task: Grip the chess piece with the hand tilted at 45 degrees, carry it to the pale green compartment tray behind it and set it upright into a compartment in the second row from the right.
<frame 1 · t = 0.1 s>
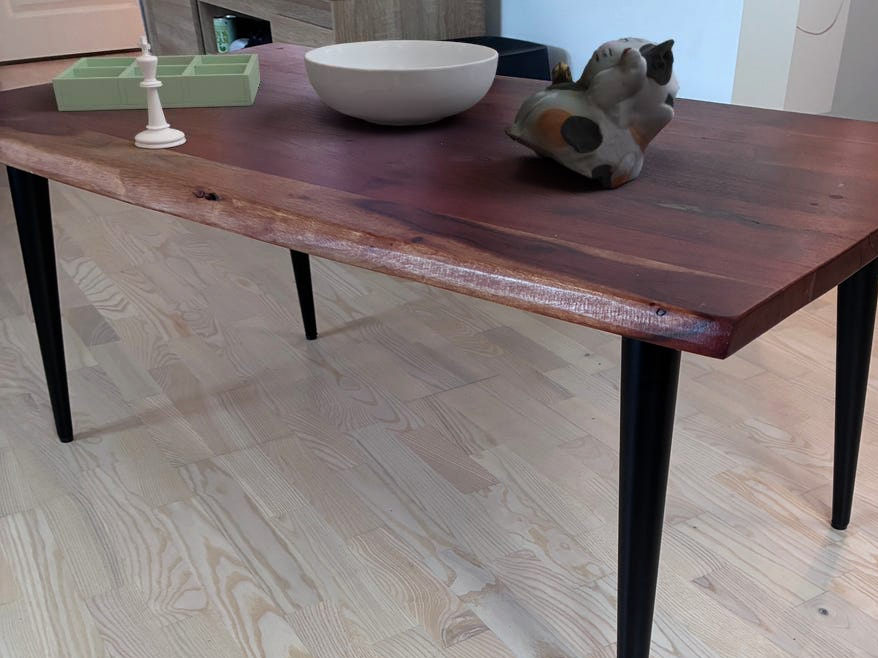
chess piece: (161, 144, 93), on the table
lucky cat figurine: (586, 172, 84), on the table
serving bowl: (404, 119, 103), on the table
compartment tray: (166, 95, 113), on the table
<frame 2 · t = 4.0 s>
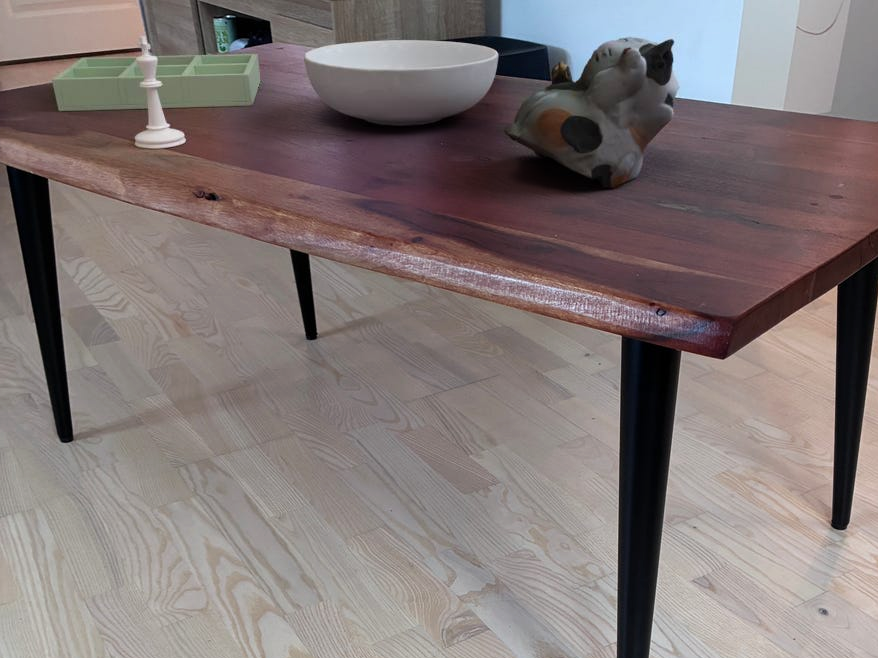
nothing on the table moved.
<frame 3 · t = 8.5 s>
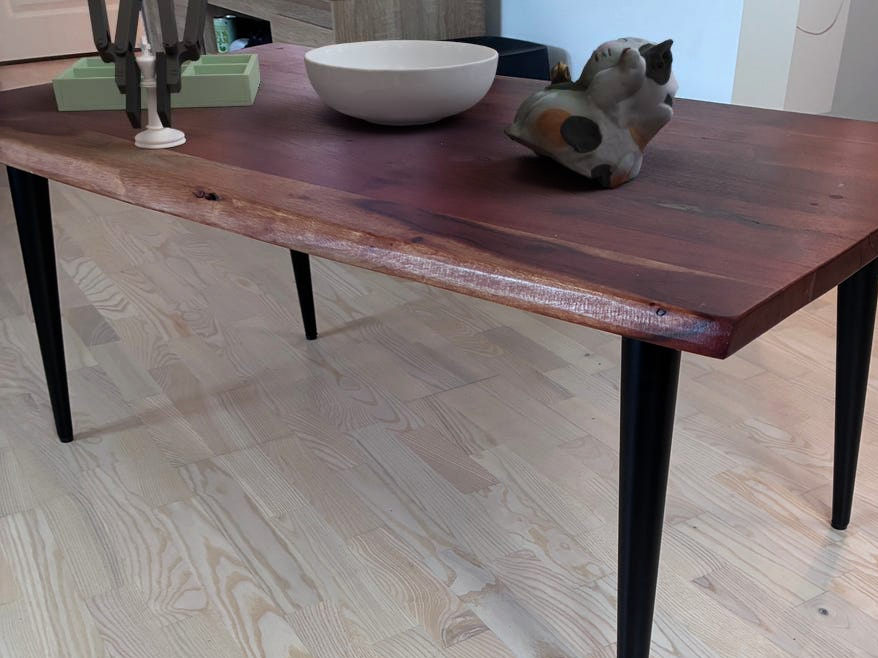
hand: (148, 119, 88), 3 cm above the table, tool tilted 45°, fingers closed on chess piece, 2 cm apart
chess piece: (161, 144, 93), on the table, touching gripper
everything else where it was.
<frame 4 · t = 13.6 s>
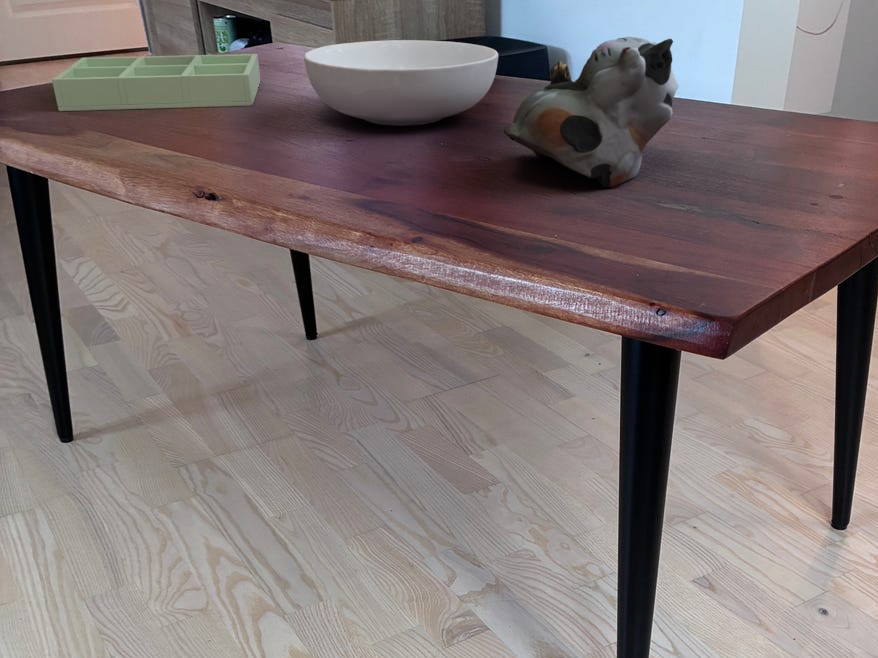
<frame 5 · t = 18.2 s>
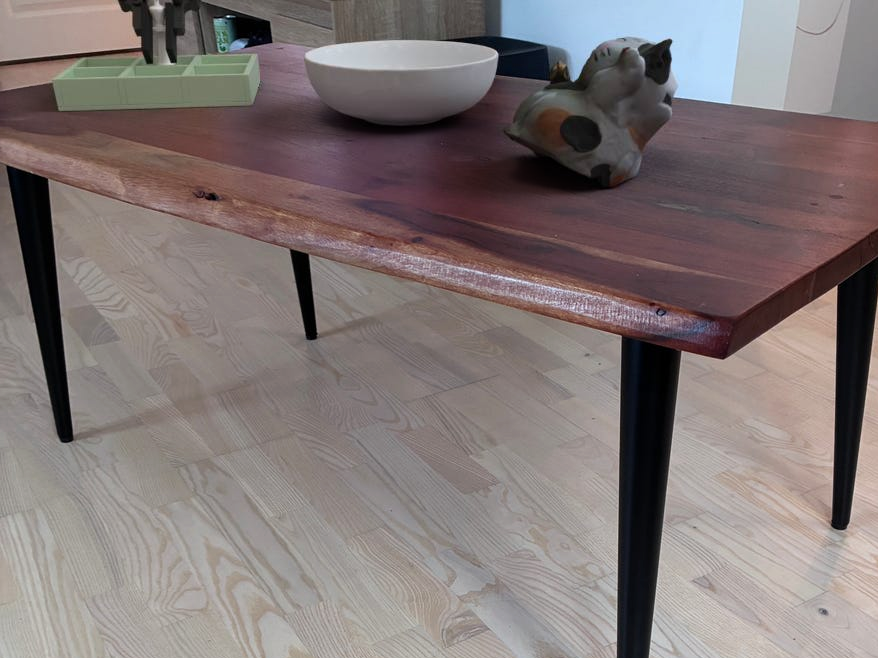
hand: (159, 56, 111), 5 cm above the table, tool tilted 45°, fingers closed on chess piece, 2 cm apart
chess piece: (168, 79, 116), point 1 cm above the table, touching gripper
everything else where it was.
when the fingers open (5 cm above the table, at t = 19.0 s): chess piece drops 1 cm, resting on compartment tray.
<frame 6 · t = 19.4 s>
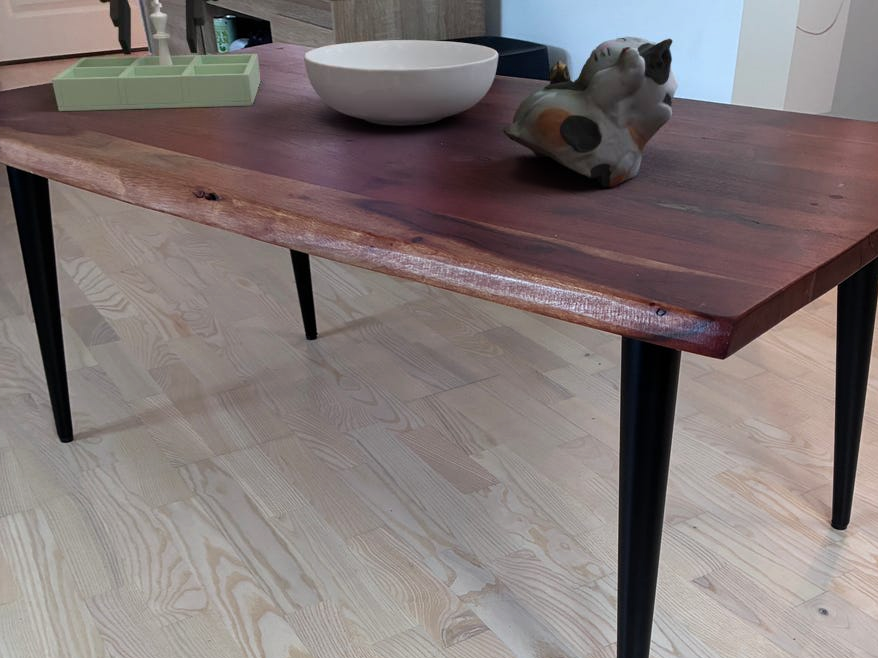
hand: (158, 46, 110), 6 cm above the table, tool tilted 45°, fingers open, 7 cm apart
chess piece: (169, 85, 116), point 1 cm above the table, touching compartment tray
everything else where it was.
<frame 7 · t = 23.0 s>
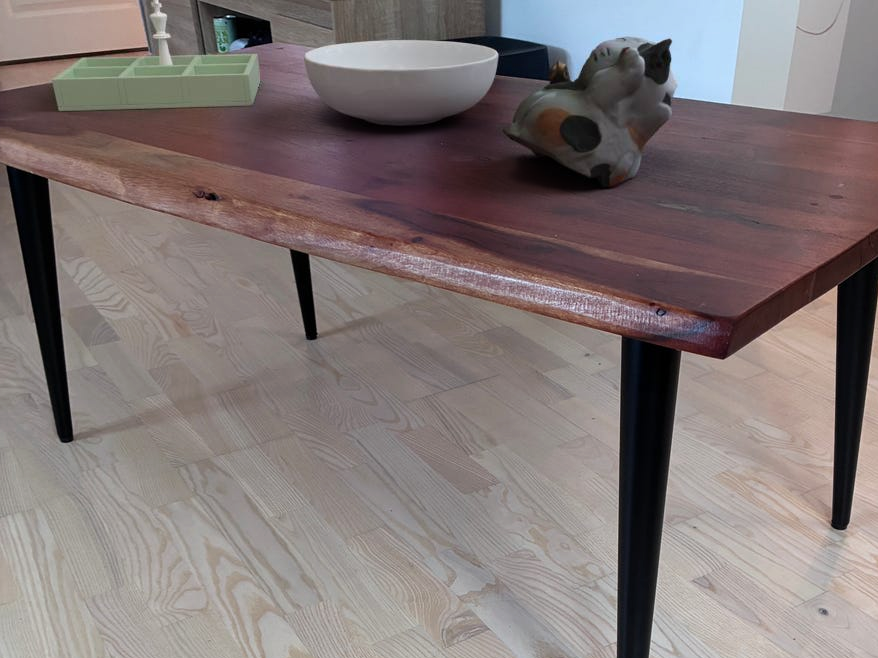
nothing on the table moved.
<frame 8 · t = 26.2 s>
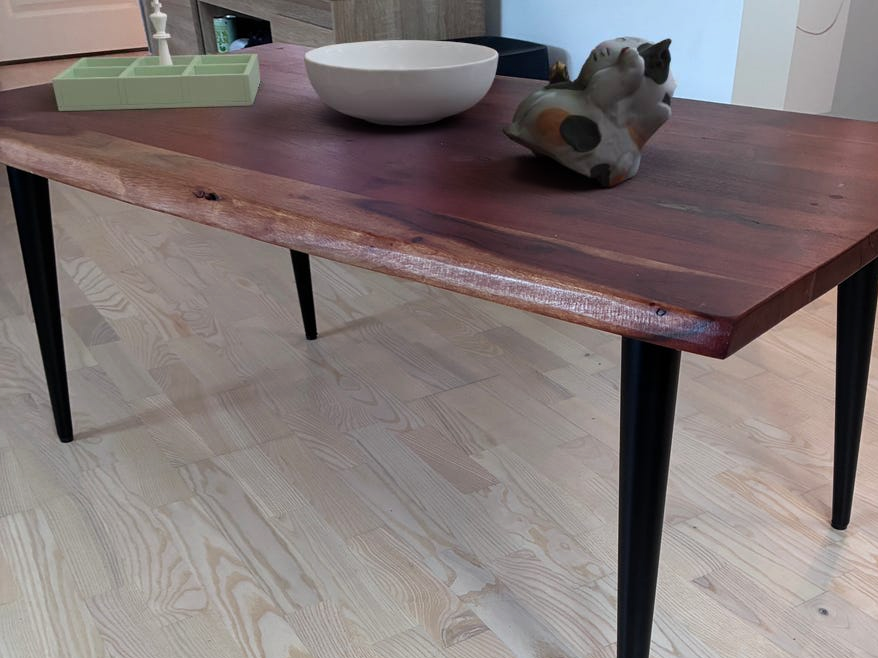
nothing on the table moved.
at the end: chess piece 0.1 cm from the target spot in the compartment tray, point 0.5 cm above the compartment tray's base; chess piece tilted 0°; the gripper is holding nothing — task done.
